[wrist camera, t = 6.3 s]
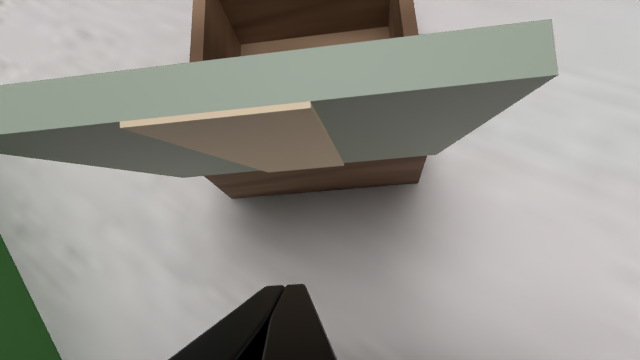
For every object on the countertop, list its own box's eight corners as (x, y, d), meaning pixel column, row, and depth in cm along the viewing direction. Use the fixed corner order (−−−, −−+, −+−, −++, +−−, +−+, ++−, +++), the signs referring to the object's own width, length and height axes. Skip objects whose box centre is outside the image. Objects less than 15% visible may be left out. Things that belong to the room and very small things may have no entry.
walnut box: (418, 182, 22) (433, 135, 16) (231, 198, 23) (183, 159, 17) (397, 23, 25) (403, -63, 19) (234, 43, 26) (194, -33, 20)
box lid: (434, 133, 16) (436, 157, 16) (181, 157, 17) (183, 180, 17) (551, 19, 6) (558, 81, 6) (-83, 94, 7) (-82, 148, 7)
